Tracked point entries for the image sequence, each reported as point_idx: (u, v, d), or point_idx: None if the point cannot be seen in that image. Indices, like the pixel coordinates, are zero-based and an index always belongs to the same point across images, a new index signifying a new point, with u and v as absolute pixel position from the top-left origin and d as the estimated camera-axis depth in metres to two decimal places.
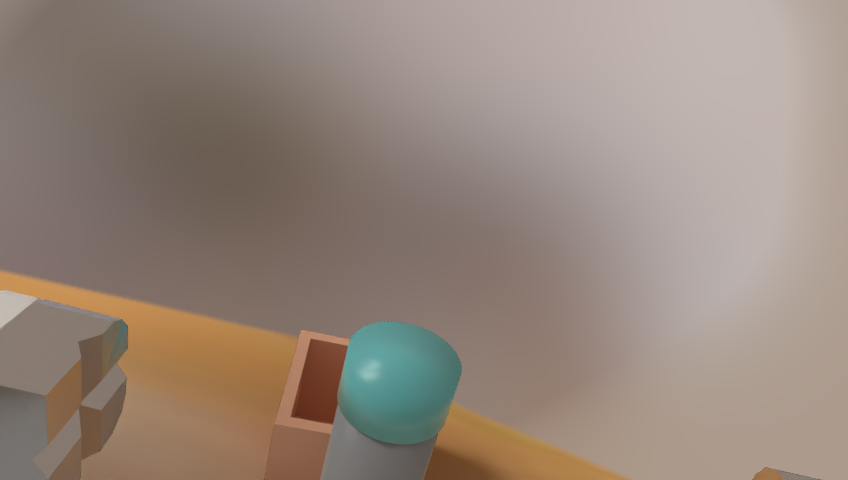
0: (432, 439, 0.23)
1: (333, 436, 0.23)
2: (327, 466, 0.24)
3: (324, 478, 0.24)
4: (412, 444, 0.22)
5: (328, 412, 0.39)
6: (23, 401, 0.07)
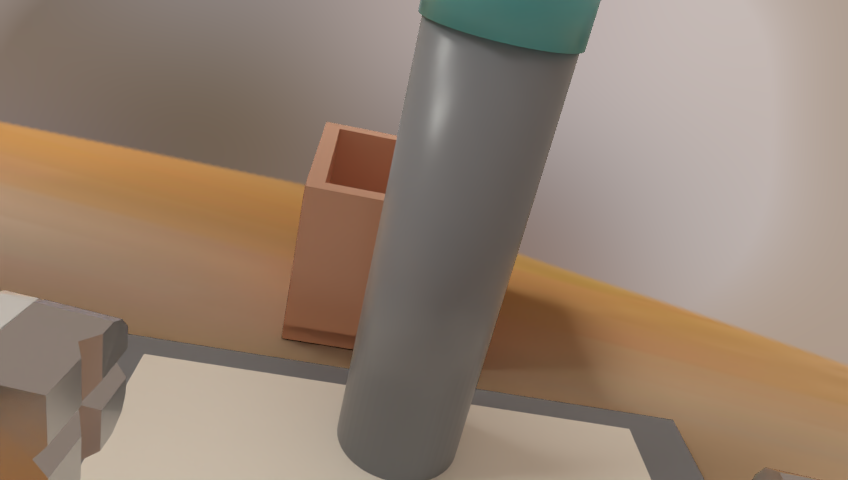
0: (570, 68, 0.15)
1: (413, 83, 0.15)
2: (403, 140, 0.16)
3: (398, 165, 0.16)
4: (546, 59, 0.14)
5: None
6: (24, 400, 0.07)
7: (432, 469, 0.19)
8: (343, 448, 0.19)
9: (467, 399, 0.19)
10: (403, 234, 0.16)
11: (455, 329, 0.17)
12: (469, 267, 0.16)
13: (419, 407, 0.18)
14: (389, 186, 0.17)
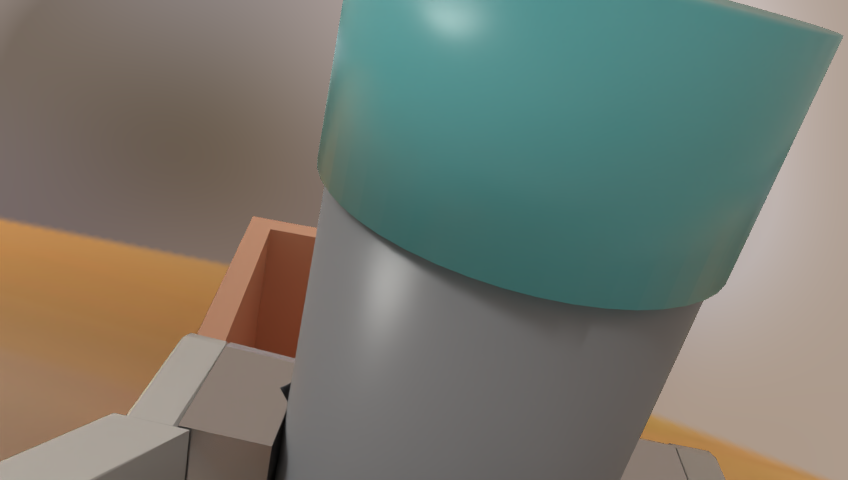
0: (697, 312, 0.06)
1: (308, 327, 0.06)
2: (291, 443, 0.07)
3: None
4: (650, 319, 0.05)
5: None
6: (248, 452, 0.07)
7: None
8: None
9: None
10: None
11: None
12: None
13: None
14: None
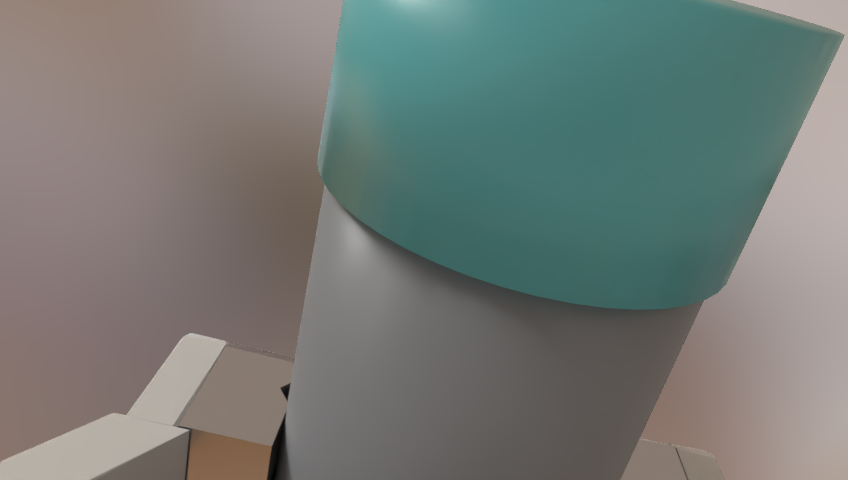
0: None
1: (308, 326, 0.06)
2: (291, 443, 0.07)
3: None
4: (650, 319, 0.05)
5: None
6: (248, 450, 0.07)
7: None
8: None
9: None
10: None
11: None
12: None
13: None
14: None
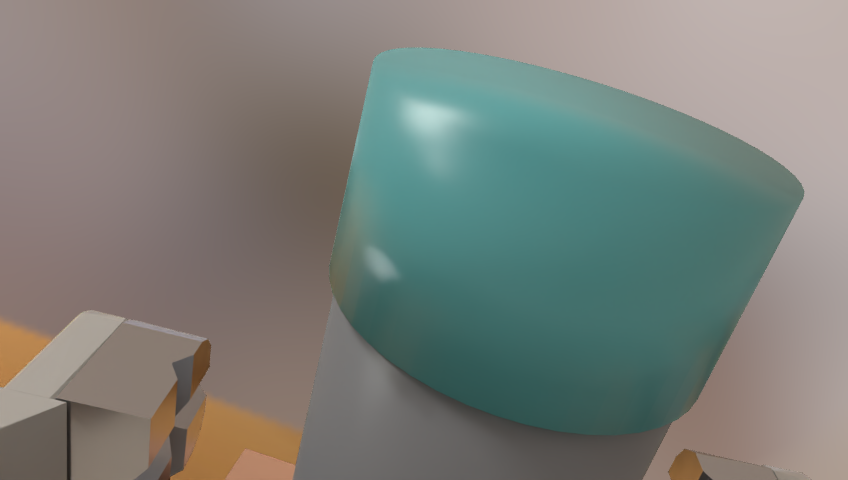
0: None
1: (316, 419, 0.07)
2: None
3: None
4: (629, 438, 0.06)
5: None
6: (128, 424, 0.07)
7: None
8: None
9: None
10: None
11: None
12: None
13: None
14: None
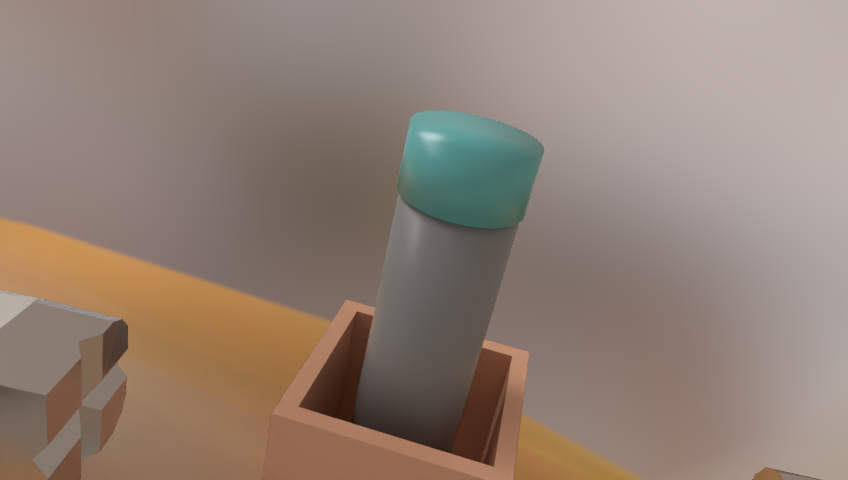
0: (512, 233, 0.19)
1: (393, 240, 0.20)
2: (386, 281, 0.20)
3: (382, 298, 0.21)
4: (492, 232, 0.19)
5: None
6: (23, 400, 0.07)
7: None
8: None
9: None
10: (386, 351, 0.21)
11: (429, 422, 0.21)
12: (437, 377, 0.21)
13: None
14: (376, 311, 0.21)
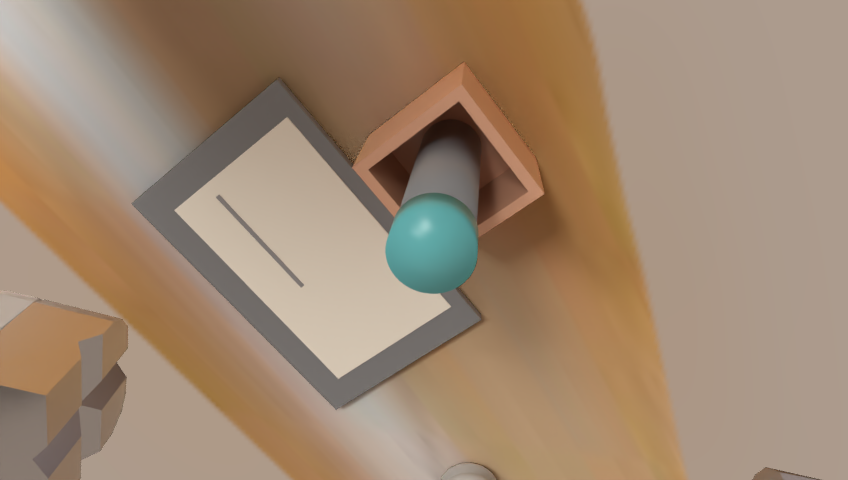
0: None
1: None
2: None
3: None
4: None
5: None
6: (23, 400, 0.07)
7: None
8: None
9: None
10: None
11: None
12: None
13: None
14: (408, 182, 0.34)
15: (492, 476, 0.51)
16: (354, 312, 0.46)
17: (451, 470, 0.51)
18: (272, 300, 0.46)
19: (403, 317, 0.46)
